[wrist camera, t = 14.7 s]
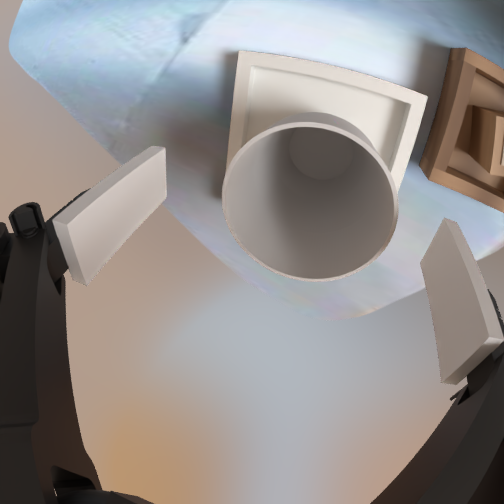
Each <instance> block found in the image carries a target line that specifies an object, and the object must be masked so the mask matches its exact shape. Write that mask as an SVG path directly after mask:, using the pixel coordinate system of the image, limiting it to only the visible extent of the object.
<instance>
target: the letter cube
mask: <svg viewBox="0 0 504 504" xmlns="http://www.w3.org/2000/svg"><path fill="white" fill-rule="evenodd" d="M469 155H470V156H471V157H472V158H473V159H474V160H475V161H476V162H477V163H478V164H480V165H481V166H482V167H483V168H484V169H485V170H486V171H487V172H488V173H489V174H491V175H497V176H503V177H504V112H501V111H497V110H493V109H489V108H485V107H480V106H476V105H473V107H472V127H471V139H470V150H469Z"/></svg>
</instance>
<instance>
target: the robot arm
mask: <svg viewBox="0 0 504 504" xmlns="http://www.w3.org/2000/svg"><path fill="white" fill-rule="evenodd" d="M166 198H167V187H166V148H165V147H158V146H151V147H149V148H147V149H146V150H144V151H143V152H141V153H140V154H138V155H137V156H135V157H134V158H132V159H131V160H129V161H128V162H126V163H125V164H124V165H122V166H121V167H119V168H118V169H116V170H115V171H114V172H112V173H111V174H109V175H108V176H107V177H105V178H104V179H103V180H101V181H100V182H99V183H97V184H96V185H95V186H93V187H92V188H90V189H88V190H86V191H84V192H82V193H80V194H79V195H78V196H76V197H75V198H74V199H73V201H70V202H69V203H68V204H67V205H66V206H64V207H63V208H62V209H60V210H59V211H58V212H57V213H56V214H54V215H53V216H52V217H51V218H50V219H49V220H47V221H46V222H44V218H43V215H42V212H41V208H40V205H39V204H38V203H35V202H31V203H26V204H23V205H21V206H19V207H17V208H16V209H14V211H12V212H11V214H10V215H9V220H10V223H11V226H12V228H13V231H14V233H9V232H8V230H7V227H6V224H5V223H3V222H0V504H154V503H151V502H149V501H147V500H144V499H142V498H140V497H138V496H133V495H128V494H123V493H118V492H114V491H110V492H109V491H103V490H102V488H101V484H100V481H99V479H98V475H97V472H96V469H95V466H94V464H93V462H92V460H91V459H90V457H89V456H88V454H87V453H86V451H85V448H84V445H83V442H82V438H81V433H80V428H79V423H78V418H77V413H76V408H75V402H74V396H73V389H72V382H71V375H70V366H69V357H68V346H67V331H66V306H65V305H66V304H65V277H64V275H63V274H64V273H65V272H66V270H67V269H69V272H70V274H71V277H72V279H73V280H74V281H76V282H79V283H81V284H83V285H86V286H87V285H88V284H89V283H90V281H92V279H93V278H94V277H95V276H96V275H97V273H98V272H99V271H100V270H101V269H102V267H103V266H104V265H105V264H106V263H107V262H108V261H109V259H110V258H111V257H112V256H113V255H114V253H116V251H117V250H118V249H119V248H120V247H121V246H122V245H123V244H124V242H125V241H126V240H127V239H128V238H129V237H130V236H131V235H132V234H133V233H134V231H135V230H136V229H137V228H138V227H139V226H140V225H141V224H142V223H143V222H144V221H145V220H146V218H148V217H149V216H150V215H151V213H152V212H153V211H154V210H155V209H156V208H157V207H158V206H159V205H160V204H161V203H162V202H163V201H164V200H165V199H166ZM420 265H421V269H422V273H423V277H424V281H425V285H426V290H427V294H428V298H429V304H430V309H431V313H432V319H433V325H434V331H435V337H436V344H437V351H438V358H439V367H440V376H441V383H447V384H455V385H456V384H458V383H459V382H460V381H461V380H462V379H464V378H465V377H466V376H467V382H468V384H467V385H466V386H465V387H463V388H462V389H461V390H460V391H458V392H457V393H456V394H455V395H453V396H452V397H451V398H450V400H451V401H452V400H453V399H454V398H456V400H455V401H454V403H453V404H452V406H451V407H450V409H449V410H448V412H447V413H446V415H445V416H444V418H443V419H442V421H441V422H440V424H439V425H438V426H437V428H436V429H435V431H434V432H433V433H432V435H431V436H430V437H429V439H428V440H427V441H426V443H425V444H424V445H423V446H422V448H421V449H420V450H419V451H418V453H417V454H416V455H415V456H414V458H413V459H412V460H411V461H410V462H409V464H408V465H407V466H406V467H405V468H404V469H403V470H402V471H401V473H400V474H399V475H398V476H397V477H396V478H395V479H394V480H393V481H392V482H391V484H389V486H388V487H387V488H386V489H385V490H384V491H383V492H382V493H381V494H380V495H379V496H378V497H377V498H376V499H375V500H374V501H373V502H371V503H370V504H504V324H503V320H501V315H500V312H499V311H498V310H499V309H498V306H497V304H496V301H495V299H494V297H493V295H492V294H491V293H490V291H489V289H487V287H486V285H485V282H484V280H483V277H482V275H481V272H480V270H479V268H478V265H477V263H476V261H475V259H474V256H473V254H472V252H471V250H470V248H469V246H468V244H467V241H466V239H465V237H464V235H463V233H462V231H461V229H460V228H459V226H458V224H457V222H455V221H452V220H449V219H447V218H444V219H443V221H442V223H441V225H440V227H439V229H438V231H437V233H436V235H435V237H434V238H433V240H432V242H431V244H430V246H429V248H428V250H427V252H426V253H425V255H424V257H423V259H422V261H421V262H420ZM54 489H55V491H56V494H57V496H56V494H55V491H54Z"/></svg>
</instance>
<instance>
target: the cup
mask: <svg viewBox="0 0 504 504" xmlns="http://www.w3.org/2000/svg"><path fill="white" fill-rule="evenodd" d="M222 207H223V212H224V216H225V220H226V222H227V225H228V227H229V229H230V232H231V233H232V235H233V237H234V238H235V240H236V241H237V243H238V244H239V245H240V247H241V248H242V249H243V250H244V251H245V252H246V253H247V254H248V255H249V256H250V257H251V258H252V259H254V260H255V261H256V262H257V263H259V264H260V265H262V266H263V267H265V268H267V269H269V270H270V271H272V272H275V273H277V274H279V275H282V276H285V277H288V278H292V279H296V280H301V281H311V282H322V281H331V280H337V279H341V278H344V277H347V276H350V275H352V274H355V273H357V272H359V271H360V270H362V269H364V268H365V267H367V266H368V265H370V264H371V263H372V262H373V261H374V260H376V259H377V258H378V257H379V256H380V254H381V253H382V252H383V251H384V250H385V248H386V247H387V245H388V243H389V242H390V240H391V238H392V236H393V233H394V231H395V228H396V224H397V219H398V195H397V190H396V186H395V183H394V180H393V178H392V175H391V173H390V171H389V170H388V168H387V166H386V165H385V163H384V161H383V160H382V158H381V157H380V155H379V154H378V152H377V150H376V149H375V147H374V146H373V144H372V143H371V141H370V140H369V139H368V138H367V136H366V135H365V134H364V133H363V132H362V131H361V130H360V129H358V128H357V127H356V126H354V125H353V124H351V123H350V122H348V121H346V120H344V119H342V118H340V117H337V116H335V115H332V114H328V113H321V112H305V113H299V114H295V115H291V116H289V117H286V118H284V119H282V120H280V121H278V122H277V123H275V124H273V125H272V126H270V127H269V128H267V129H266V130H264V131H263V132H261V133H260V134H258V135H257V136H255V137H254V138H252V139H251V140H250V141H248V142H247V143H246V144H245V145H244V146H243V147H242V148H241V149H240V150H239V151H238V153H237V154H236V155H235V157H234V158H233V160H232V161H231V163H230V165H229V167H228V169H227V172H226V174H225V178H224V182H223V187H222Z"/></svg>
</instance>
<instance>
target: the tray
mask: <svg viewBox="0 0 504 504" xmlns="http://www.w3.org/2000/svg"><path fill="white" fill-rule="evenodd" d="M427 98H428V96H426V95H423V94H421V93H418V92H416V91H413V90H410V89H408V88H405V87H402V86H400V85H397V84H394V83H391V82H388V81H385V80H382V79H379V78H376V77H372V76H369V75H366V74H362V73H359V72H355V71H352V70H348V69H344V68H340V67H336V66H332V65H328V64H323V63H319V62H314V61H309V60H304V59H299V58H293V57H287V56H281V55H274V54H267V53H259V52H250V51H239V54H238V62H237V70H236V78H235V87H234V96H233V105H232V114H231V123H230V133H229V143H228V153H227V163H226V172H227V169H228V167H229V165H230V163H231V161H232V160H233V158H234V157H235V155H236V154H237V153H238V151H239V150H240V149H241V148H242V147H243V146H244V145H245V144H246V143H247V142H248V141H250V140H251V139H252V138H254V137H255V136H257V135H258V134H260V133H261V132H263V131H264V130H266V129H267V128H269V127H270V126H272V125H273V124H275V123H277V122H278V121H280V120H282V119H284V118H286V117H289V116H291V115H295V114H299V113H305V112H321V113H328V114H332V115H335V116H337V117H340V118H342V119H344V120H346V121H348V122H350V123H351V124H353V125H354V126H356V127H357V128H358V129H360V130H361V131H362V132H363V133H364V134H365V135H366V136H367V138H368V139H369V140H370V141H371V143H372V144H373V146H374V147H375V149H376V150H377V152H378V154H379V155H380V157H381V158H382V160H383V161H384V163H385V165H386V166H387V168H388V170H389V171H390V173H391V175H392V178H393V180H394V183H395V186H396V190H397V192H398V190H399V187H400V184H401V181H402V179H403V176H404V173H405V170H406V167H407V164H408V161H409V159H410V156H411V152H412V149H413V146H414V143H415V140H416V137H417V133H418V130H419V127H420V123H421V120H422V116H423V113H424V109H425V106H426V102H427ZM222 210H223V209H222Z"/></svg>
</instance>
